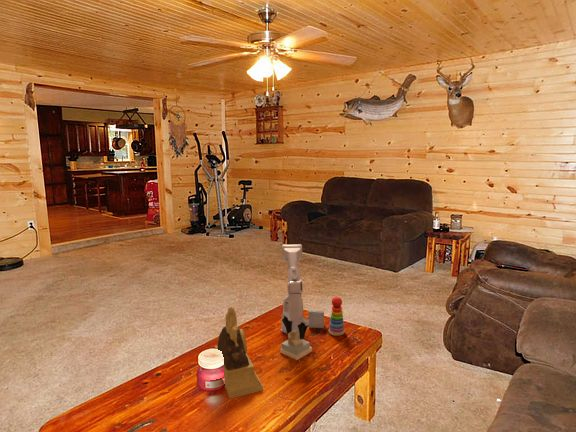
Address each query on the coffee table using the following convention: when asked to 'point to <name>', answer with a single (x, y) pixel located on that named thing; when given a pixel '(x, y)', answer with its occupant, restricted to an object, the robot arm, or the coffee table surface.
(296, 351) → the top slab
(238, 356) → the seated figure statue
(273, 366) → the coffee table surface
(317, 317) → the medicine box
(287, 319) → the robot arm
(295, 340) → the ash cube
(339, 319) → the stacking toy
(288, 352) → the bottom slab
